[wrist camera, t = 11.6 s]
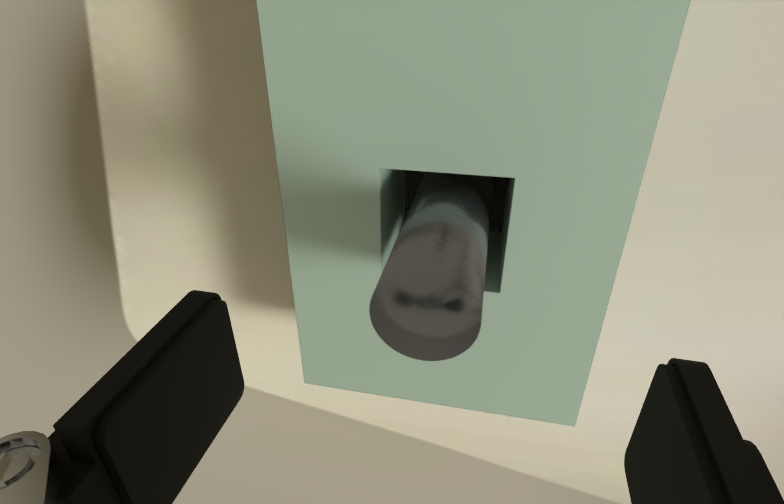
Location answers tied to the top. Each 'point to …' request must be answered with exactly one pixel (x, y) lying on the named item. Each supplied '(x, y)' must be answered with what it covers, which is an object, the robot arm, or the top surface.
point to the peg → (436, 270)
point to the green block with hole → (465, 156)
